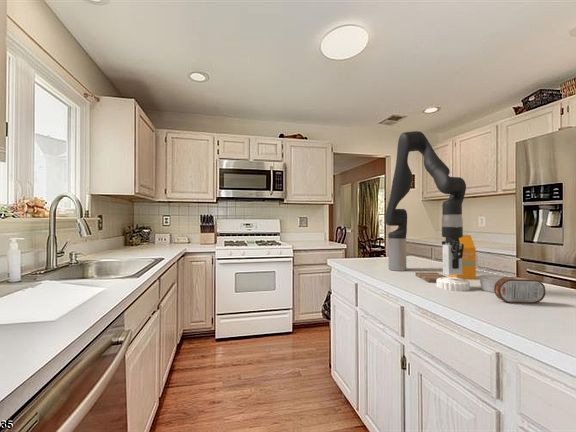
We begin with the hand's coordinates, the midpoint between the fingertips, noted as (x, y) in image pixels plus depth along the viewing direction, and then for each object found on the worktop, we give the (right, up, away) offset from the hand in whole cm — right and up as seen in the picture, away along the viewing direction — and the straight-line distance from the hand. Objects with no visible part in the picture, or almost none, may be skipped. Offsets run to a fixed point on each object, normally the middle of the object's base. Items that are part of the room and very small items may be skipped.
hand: (452, 267), depth 123 cm
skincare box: (0, -3, 0) cm, 3 cm away
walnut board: (0, -8, +17) cm, 19 cm away
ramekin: (+14, -8, -6) cm, 17 cm away
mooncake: (0, -9, 0) cm, 9 cm away
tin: (+11, -8, -22) cm, 26 cm away
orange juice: (+15, -8, +20) cm, 27 cm away
